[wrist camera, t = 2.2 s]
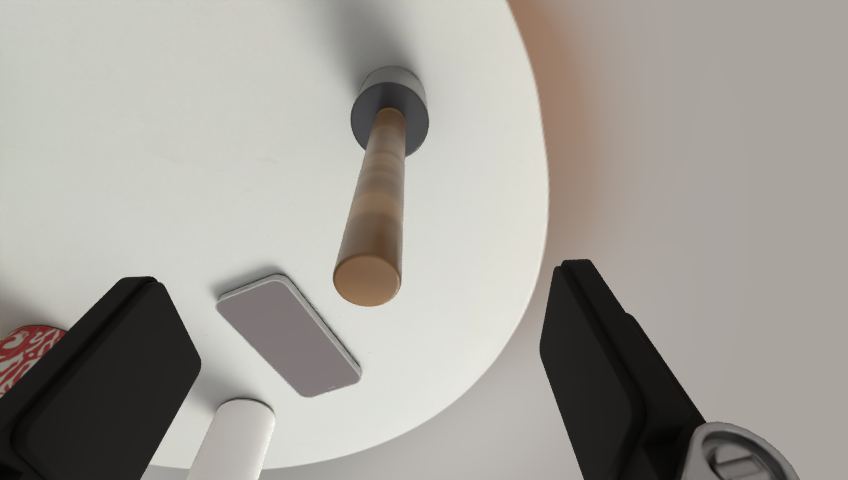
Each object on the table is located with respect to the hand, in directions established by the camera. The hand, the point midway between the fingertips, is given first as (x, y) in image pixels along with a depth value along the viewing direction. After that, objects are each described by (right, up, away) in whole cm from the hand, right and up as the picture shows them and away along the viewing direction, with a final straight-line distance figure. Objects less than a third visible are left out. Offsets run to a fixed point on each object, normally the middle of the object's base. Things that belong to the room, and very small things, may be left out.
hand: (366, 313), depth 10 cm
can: (-19, -18, +35) cm, 44 cm away
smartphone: (-11, -8, +28) cm, 31 cm away
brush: (-1, +11, +16) cm, 20 cm away
